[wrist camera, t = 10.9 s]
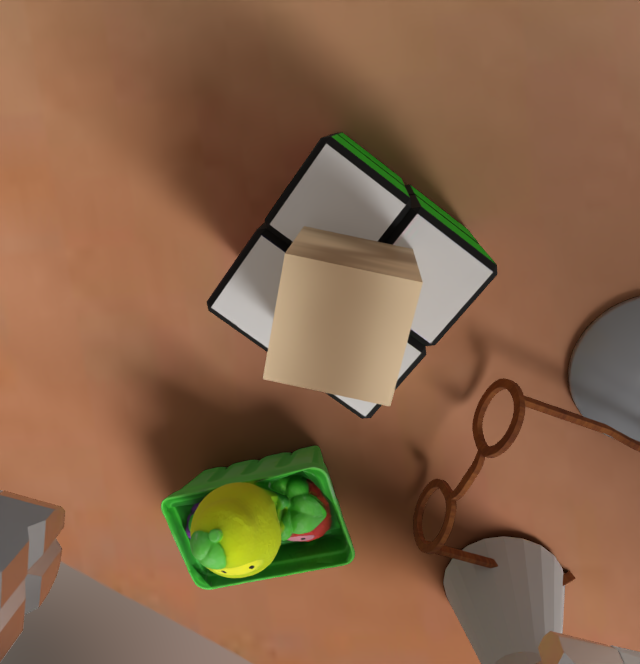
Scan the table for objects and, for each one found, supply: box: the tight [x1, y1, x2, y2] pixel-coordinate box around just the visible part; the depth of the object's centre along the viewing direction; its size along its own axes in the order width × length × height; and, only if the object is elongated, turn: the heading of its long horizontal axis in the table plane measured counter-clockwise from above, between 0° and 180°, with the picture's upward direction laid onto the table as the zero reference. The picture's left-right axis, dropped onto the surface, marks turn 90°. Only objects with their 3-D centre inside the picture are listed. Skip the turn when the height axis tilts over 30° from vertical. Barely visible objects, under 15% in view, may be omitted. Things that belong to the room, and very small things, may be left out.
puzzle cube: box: [207, 132, 497, 419], centre depth 32 cm, size 10×10×10 cm
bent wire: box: [413, 379, 640, 586], centre depth 38 cm, size 13×13×5 cm
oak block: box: [263, 226, 423, 406], centre depth 25 cm, size 5×5×6 cm
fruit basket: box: [161, 445, 355, 590], centre depth 38 cm, size 11×9×11 cm
